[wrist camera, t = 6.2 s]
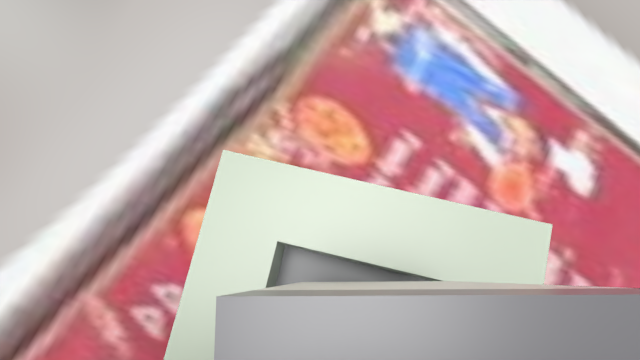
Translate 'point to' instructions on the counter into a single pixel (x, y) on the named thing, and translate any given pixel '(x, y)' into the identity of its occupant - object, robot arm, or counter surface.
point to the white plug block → (428, 322)
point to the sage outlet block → (338, 241)
